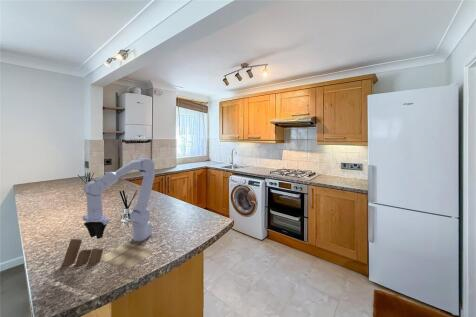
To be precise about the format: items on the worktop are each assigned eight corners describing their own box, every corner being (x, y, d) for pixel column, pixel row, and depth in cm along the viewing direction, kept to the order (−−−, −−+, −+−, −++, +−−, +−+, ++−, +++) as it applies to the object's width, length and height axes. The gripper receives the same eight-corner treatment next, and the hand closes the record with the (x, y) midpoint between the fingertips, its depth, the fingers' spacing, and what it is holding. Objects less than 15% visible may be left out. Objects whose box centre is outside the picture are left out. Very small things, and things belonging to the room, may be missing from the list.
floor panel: (137, 247, 106) (137, 245, 106) (156, 252, 101) (156, 250, 101) (107, 265, 91) (107, 262, 91) (128, 272, 87) (128, 269, 86)
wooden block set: (101, 267, 94) (108, 242, 97) (83, 271, 86) (92, 243, 89) (70, 259, 98) (78, 236, 101) (50, 262, 90) (60, 236, 93)
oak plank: (126, 245, 108) (126, 242, 108) (137, 247, 106) (137, 245, 106) (95, 261, 94) (95, 258, 93) (107, 265, 91) (106, 262, 91)
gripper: (74, 208, 94) (76, 238, 95) (97, 212, 89) (99, 244, 90) (90, 204, 101) (92, 232, 102) (112, 207, 96) (114, 237, 97)
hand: (96, 237), depth 97 cm, fingers open, 4 cm apart
